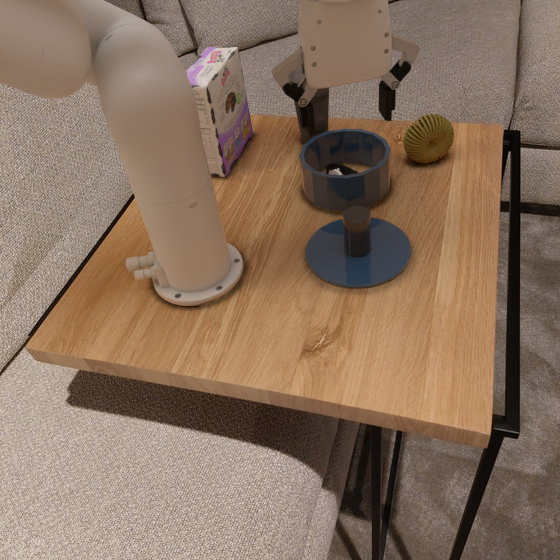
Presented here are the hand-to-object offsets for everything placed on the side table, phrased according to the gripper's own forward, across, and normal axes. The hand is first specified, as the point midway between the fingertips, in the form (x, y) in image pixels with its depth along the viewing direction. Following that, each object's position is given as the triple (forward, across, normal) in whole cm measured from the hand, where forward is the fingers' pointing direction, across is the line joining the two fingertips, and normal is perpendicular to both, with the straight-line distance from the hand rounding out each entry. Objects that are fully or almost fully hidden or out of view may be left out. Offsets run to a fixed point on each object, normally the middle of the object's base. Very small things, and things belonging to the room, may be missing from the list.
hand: (347, 123), depth 73 cm
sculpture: (+17, -16, -12) cm, 26 cm away
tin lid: (+16, +1, +6) cm, 17 cm away
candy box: (+17, +15, -27) cm, 35 cm away
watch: (+17, -2, -10) cm, 19 cm away
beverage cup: (+17, -1, -26) cm, 31 cm away
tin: (+17, -2, -10) cm, 20 cm away
